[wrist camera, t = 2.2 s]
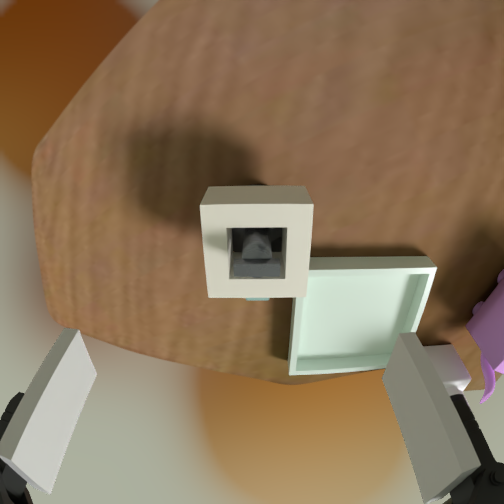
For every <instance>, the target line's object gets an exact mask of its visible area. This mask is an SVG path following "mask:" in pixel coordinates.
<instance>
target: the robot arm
mask: <svg viewBox="0 0 504 504" xmlns="http://www.w3.org/2000/svg"><path fill="white" fill-rule="evenodd" d="M96 376H97V373H96V371H95V368H94V366H93V364H92V361H91V359H90V357H89V354H88V352H87V349H86V347H85V344H84V342H83V339H82V337H81V334H80V331H79V330H78V329H70V328H64V329H63V331H62V333H61V334H60V336H59V337H58V339H57V340H56V342H55V343H54V345H53V347H52V349H51V350H50V352H49V353H48V355H47V356H46V358H45V360H44V361H43V363H42V365H41V366H40V368H39V370H38V372H37V373H36V375H35V377H34V378H33V380H32V382H31V384H30V385H29V387H28V389H27V391H26V392H25V394H24V393H20V392H19V393H18V394H17V395H15V396H14V397H13V398H12V399H11V400H10V402H9V404H8V405H7V407H6V409H5V412H4V413H3V415H2V417H1V420H0V504H33V502H32V499H31V497H30V494H29V491H28V490H27V488H26V484H27V482H28V483H29V484H30V485H31V486H32V487H34V488H35V489H37V490H40V491H42V492H44V493H47V494H51V492H52V489H53V486H54V483H55V480H56V477H57V474H58V471H59V468H60V465H61V462H62V460H63V457H64V454H65V451H66V449H67V446H68V443H69V441H70V438H71V436H72V433H73V430H74V428H75V425H76V423H77V420H78V418H79V415H80V413H81V410H82V408H83V406H84V403H85V401H86V399H87V396H88V394H89V392H90V389H91V387H92V385H93V382H94V380H95V378H96ZM382 380H383V382H384V385H385V388H386V391H387V393H388V396H389V399H390V401H391V404H392V407H393V410H394V412H395V415H396V418H397V421H398V424H399V426H400V429H401V432H402V435H403V438H404V441H405V444H406V447H407V450H408V453H409V456H410V459H411V462H412V465H413V469H414V472H415V475H416V478H417V482H418V485H419V488H420V492H421V495H422V499H423V502H424V504H428V503H431V502H433V501H436V500H439V499H442V498H443V497H444V496H446V495H447V494H448V493H449V492H450V495H451V498H450V499H448V500H447V501H446V502H444V503H443V504H504V464H503V463H499V462H496V461H495V459H494V457H493V455H492V453H491V451H490V449H489V446H488V444H487V442H486V440H485V438H484V436H483V433H482V431H481V429H479V425H478V423H477V421H475V417H474V415H473V413H472V411H471V409H470V407H469V406H467V405H466V404H465V403H464V402H463V401H462V400H461V399H459V400H455V401H452V400H451V398H450V396H449V394H448V392H447V390H446V388H445V387H444V385H443V383H442V381H441V379H440V377H439V375H438V373H437V371H436V369H435V368H434V366H433V364H432V362H431V360H430V358H429V357H428V355H427V353H426V351H425V349H424V348H423V346H422V344H421V342H420V341H419V339H418V337H417V335H416V334H415V332H409V333H399V335H398V337H397V340H396V343H395V346H394V349H393V351H392V354H391V356H390V359H389V362H388V364H387V367H386V369H385V372H384V374H383V377H382Z"/></svg>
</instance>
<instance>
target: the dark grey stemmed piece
mask: <svg viewBox="0 0 504 504" xmlns="http://www.w3.org/2000/svg"><path fill="white" fill-rule="evenodd" d="M248 186H267V185H263V184H252V185H248ZM232 242H233V251H234V252H242V259H234V263H233V267H234V277H254V278H260V277H280V258H272V252H280V251H281V250H282V227H265V228H232Z"/></svg>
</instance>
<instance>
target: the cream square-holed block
mask: <svg viewBox="0 0 504 504" xmlns="http://www.w3.org/2000/svg"><path fill="white" fill-rule="evenodd" d="M313 205H314V204H313V202H312V200H311V198H310V196H309V194H308V191H307V189H306V187H305V186H214V187H208V189H207V191H206V193H205V195H204V197H203V199H202V201H201V203H200V215H201V227H202V238H203V249H204V259H205V269H206V279H207V288H208V297H209V298H246V300H269V298H286V297H306V294H307V284H308V273H309V261H310V249H311V235H312V221H313ZM265 227H282V252H272V258H280V277H260V278H254V277H234V267H233V263H234V259H242V252H233V242H232V228H265Z"/></svg>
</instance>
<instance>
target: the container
mask: <svg viewBox="0 0 504 504" xmlns="http://www.w3.org/2000/svg"><path fill="white" fill-rule="evenodd" d="M423 348H424V349H425V351H426V353H427V355H428V357H429V358H430V360H431V362H432V364H433V366H434V368H435V369H436V371H437V373H438V375H439V377H440V379H441V381H442V383H443V385H444V387H445V388H446V390H447V392H448V394H449V396H450V398H451V400H452V401H455V400H459V399H461V400H462V401H463V402H464V403H465V404H466V405H467V406H469V404H468V402H467V400H466V398H465V396H464V394H463V390H464V389H465V387H466V386H467V385H468V383H469V382H470V380H471V377H470V375H469V373H468V371H467V369H466V367H465V366H464V364H463V362H462V360H461V359H460V357H459V355H458V353H457V352H456V350H455V348H454V346H453V345H452V344H449V345H436V346H423ZM469 407H470V406H469Z"/></svg>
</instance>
